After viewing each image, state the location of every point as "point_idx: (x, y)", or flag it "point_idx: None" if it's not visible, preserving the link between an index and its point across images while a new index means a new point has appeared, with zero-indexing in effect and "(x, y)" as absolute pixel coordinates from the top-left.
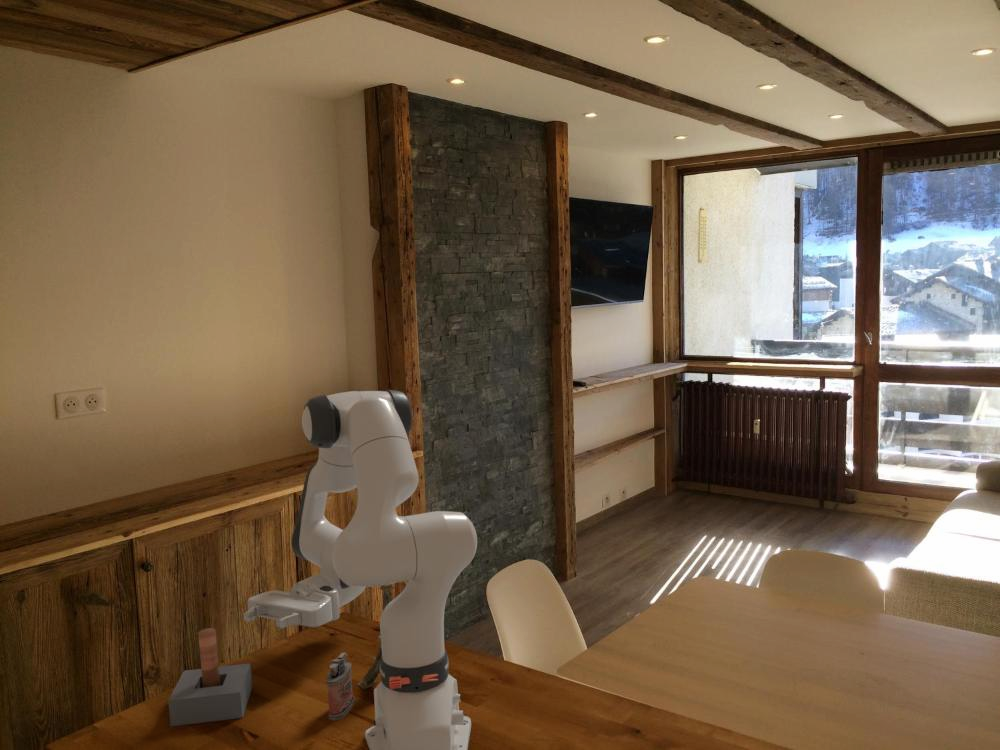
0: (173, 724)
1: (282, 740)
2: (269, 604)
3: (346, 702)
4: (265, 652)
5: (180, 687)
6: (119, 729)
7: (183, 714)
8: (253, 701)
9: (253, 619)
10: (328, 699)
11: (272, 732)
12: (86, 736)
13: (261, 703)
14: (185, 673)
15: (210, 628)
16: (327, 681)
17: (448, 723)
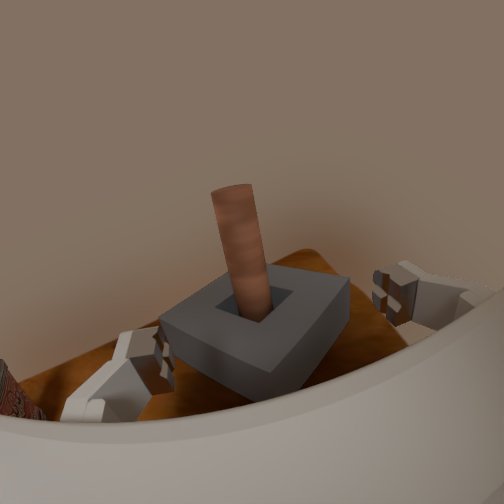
0: None
1: (80, 356)
2: (432, 334)
3: None
4: None
5: (276, 270)
6: (300, 265)
7: None
8: (208, 390)
9: (389, 317)
10: (23, 391)
11: (102, 360)
12: (310, 249)
13: (185, 395)
14: (333, 278)
15: (241, 189)
16: (1, 360)
17: None
